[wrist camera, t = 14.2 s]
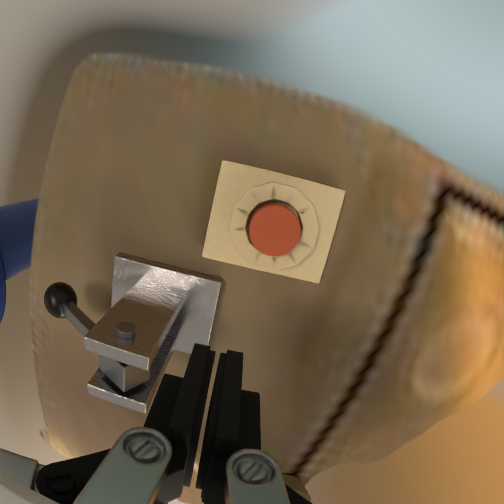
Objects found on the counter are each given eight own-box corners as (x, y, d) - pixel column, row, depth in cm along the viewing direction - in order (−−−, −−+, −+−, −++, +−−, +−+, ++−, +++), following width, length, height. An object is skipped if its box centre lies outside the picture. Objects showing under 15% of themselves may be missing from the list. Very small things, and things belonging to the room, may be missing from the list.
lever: (68, 304, 26) (40, 311, 23) (68, 274, 25) (38, 279, 22) (153, 382, 20) (119, 400, 17) (156, 347, 19) (118, 363, 16)
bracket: (114, 325, 29) (58, 394, 18) (119, 252, 27) (47, 302, 16) (207, 351, 30) (184, 438, 18) (222, 278, 28) (199, 350, 16)
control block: (205, 251, 27) (197, 263, 24) (224, 160, 25) (219, 159, 22) (315, 277, 28) (323, 291, 24) (340, 189, 25) (352, 192, 22)
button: (244, 244, 24) (243, 250, 22) (255, 197, 23) (255, 200, 21) (291, 255, 24) (293, 261, 22) (303, 209, 23) (306, 212, 21)
